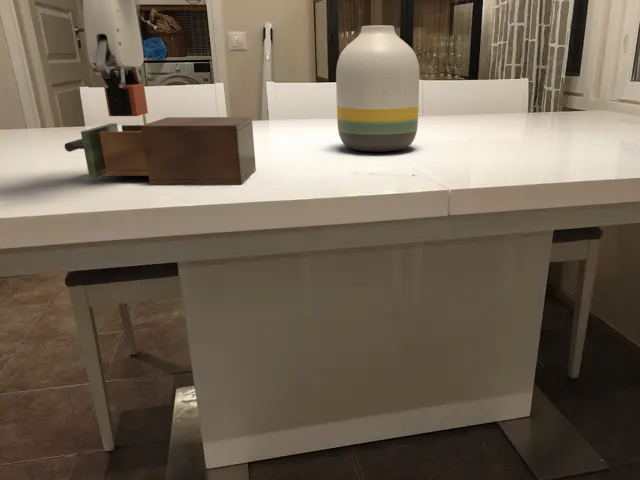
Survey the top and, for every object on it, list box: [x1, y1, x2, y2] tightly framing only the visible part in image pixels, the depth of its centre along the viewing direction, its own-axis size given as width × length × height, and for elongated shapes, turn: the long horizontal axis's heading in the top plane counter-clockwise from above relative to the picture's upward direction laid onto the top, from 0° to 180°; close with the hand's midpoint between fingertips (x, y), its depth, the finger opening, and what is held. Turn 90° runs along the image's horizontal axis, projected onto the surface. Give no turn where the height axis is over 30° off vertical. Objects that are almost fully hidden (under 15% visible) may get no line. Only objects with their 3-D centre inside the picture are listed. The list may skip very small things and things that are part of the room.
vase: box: [335, 25, 420, 153], centre depth 114 cm, size 17×17×24 cm
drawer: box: [64, 122, 148, 179], centre depth 92 cm, size 18×10×7 cm, turn 89°
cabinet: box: [141, 116, 257, 186], centre depth 91 cm, size 15×12×9 cm
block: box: [103, 83, 149, 117], centre depth 89 cm, size 4×4×4 cm
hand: (128, 112), depth 89 cm, fingers closed on block, 4 cm apart
